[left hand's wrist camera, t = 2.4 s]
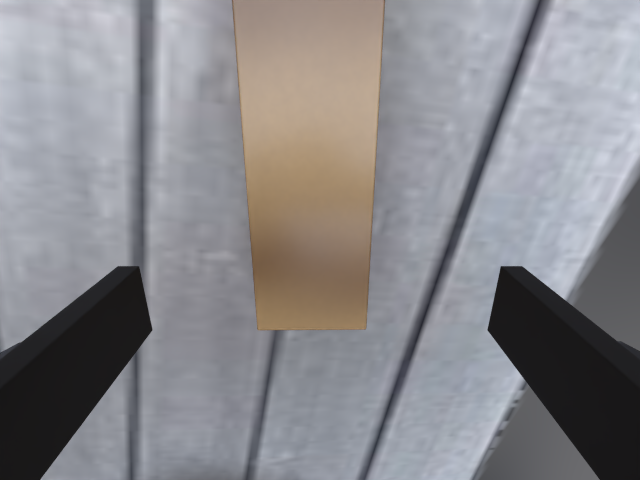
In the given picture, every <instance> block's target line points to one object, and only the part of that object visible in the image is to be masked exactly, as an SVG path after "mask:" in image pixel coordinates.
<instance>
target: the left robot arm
mask: <svg viewBox="0 0 640 480" xmlns="http://www.w3.org/2000/svg"><path fill="white" fill-rule="evenodd" d="M151 331H152V326H151V321H150V316H149V312H148V307H147V302H146V297H145V292H144V288H143V283H142V278H141V273H140V269H139V266H118V267H116V268H115V269H114V270H113V271H111V272H110V273H109V274H108V275H106V276H105V277H104V278H103V279H101V280H100V281H99V282H97V283H96V284H95V285H94V286H92V287H91V288H90V289H89V290H87V291H86V292H85V293H84V294H82V295H81V296H80V297H78V298H77V299H76V300H75V301H73V302H72V303H71V304H70V305H68V306H67V307H66V308H65V309H63V310H62V311H61V312H59V313H58V314H57V315H56V316H54V317H53V318H52V319H51V320H49V321H48V322H47V323H46V324H44V325H43V326H42V327H40V328H39V329H38V330H37V331H35V332H34V333H33V334H32V335H30V336H29V337H28V338H26V339H25V340H24V341H23V342H21V343H18V344H16V345H14V346H12V347H10V348H8V349H7V350H5V351H3V352H1V353H0V480H40V479H41V478H42V476H43V475H44V474H45V472H46V471H47V470H48V468H49V467H50V466H51V464H52V463H53V462H54V460H55V459H56V458H57V456H58V455H59V454H60V452H61V451H62V450H63V448H64V447H65V446H66V444H67V443H68V442H69V440H70V439H71V438H72V436H73V435H74V434H75V432H76V431H77V430H78V428H79V427H80V426H81V425H82V423H83V422H84V421H85V419H86V418H87V417H88V415H89V414H90V413H91V411H92V410H93V409H94V407H95V406H96V405H97V403H98V402H99V401H100V399H101V398H102V397H103V395H104V394H105V393H106V391H107V390H108V389H109V387H110V386H111V385H112V383H113V382H114V381H115V379H116V378H117V377H118V375H119V374H120V373H121V371H122V370H123V369H124V367H125V366H126V365H127V363H128V362H129V361H130V359H131V358H132V357H133V355H134V354H135V353H136V351H137V350H138V349H139V347H140V346H141V345H142V343H143V342H144V341H145V339H146V338H147V337H148V335H149V334H150V333H151ZM488 331H489V333H490V334H491V335H492V337H493V338H494V339H495V341H496V342H497V343H498V345H499V346H500V347H501V349H502V350H503V351H504V353H505V354H506V355H507V357H508V358H509V359H510V361H511V362H512V363H513V365H514V366H515V367H516V369H517V370H518V371H519V373H520V374H521V375H522V377H523V378H524V379H525V381H526V382H527V383H528V385H529V386H530V387H531V389H532V390H533V391H534V393H535V394H536V395H537V397H538V398H539V399H540V401H541V402H542V403H543V405H544V406H545V407H546V409H547V410H548V411H549V413H550V414H551V415H552V416H553V418H554V419H555V421H556V422H557V423H558V424H559V426H560V427H561V428H562V430H563V431H564V432H565V434H566V435H567V436H568V438H569V439H570V440H571V442H572V443H573V444H574V446H575V447H576V448H577V450H578V451H579V452H580V454H581V455H582V456H583V458H584V459H585V460H586V462H587V463H588V464H589V466H590V467H591V468H592V470H593V471H594V472H595V474H596V475H597V476H598V478H599V479H600V480H640V351H638V350H636V349H634V348H633V347H630V346H629V345H627V344H625V343H623V342H621V341H620V342H618V341H616V340H615V339H614V338H612V337H611V336H610V335H608V334H607V333H606V332H605V331H603V330H602V329H601V328H600V327H598V326H597V325H596V324H594V323H593V322H592V321H591V320H589V319H588V318H587V317H586V316H584V315H583V314H582V313H581V312H579V311H578V310H577V309H575V308H574V307H573V306H572V305H570V304H569V303H568V302H567V301H565V300H564V299H563V298H562V297H560V296H559V295H558V294H556V293H555V292H554V291H553V290H551V289H550V288H549V287H548V286H546V285H545V284H544V283H543V282H541V281H540V280H539V279H537V278H536V277H535V276H534V275H532V274H531V273H530V272H529V271H527V270H526V269H525V268H524V267H522V266H501V269H500V273H499V278H498V283H497V288H496V292H495V297H494V302H493V307H492V312H491V316H490V321H489V326H488Z"/></svg>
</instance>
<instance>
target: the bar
mask: <svg viewBox="0 0 640 480" xmlns="http://www.w3.org/2000/svg"><path fill="white" fill-rule="evenodd" d="M232 6H233V19H234V32H235V45H236V58H237V71H238V84H239V97H240V110H241V123H242V135H243V148H244V161H245V174H246V187H247V200H248V213H249V226H250V239H251V252H252V265H253V278H254V291H255V303H256V316H257V329H258V330H352V329H366V324H367V306H368V289H369V271H370V254H371V236H372V219H373V201H374V184H375V166H376V149H377V131H378V114H379V96H380V79H381V61H382V44H383V27H384V9H385V0H232Z"/></svg>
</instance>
